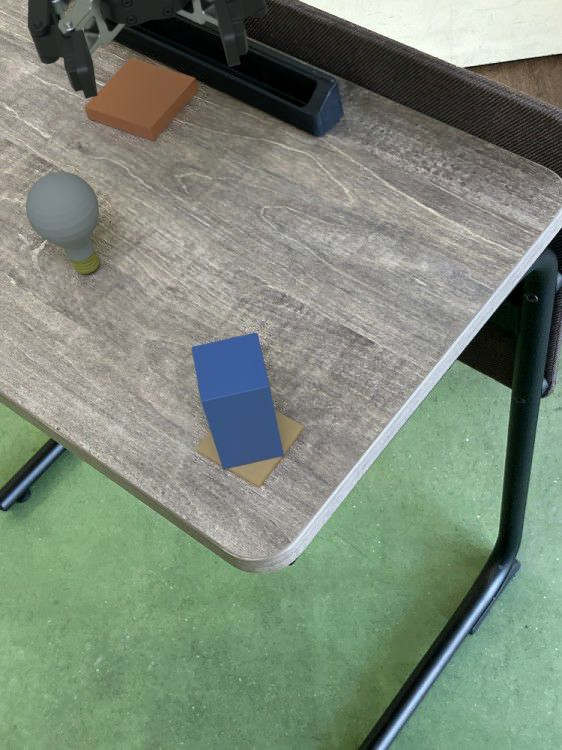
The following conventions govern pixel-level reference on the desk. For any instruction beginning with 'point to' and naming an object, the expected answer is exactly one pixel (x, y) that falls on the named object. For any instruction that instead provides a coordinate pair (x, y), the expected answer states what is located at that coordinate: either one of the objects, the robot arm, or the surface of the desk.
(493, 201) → the desk surface
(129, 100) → the orange-brown square slab
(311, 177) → the desk surface
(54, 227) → the light bulb
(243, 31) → the robot arm
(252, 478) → the mat
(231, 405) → the block
